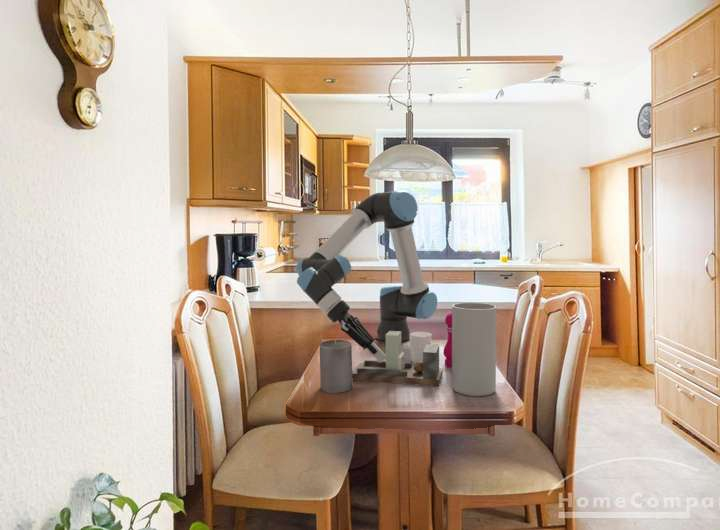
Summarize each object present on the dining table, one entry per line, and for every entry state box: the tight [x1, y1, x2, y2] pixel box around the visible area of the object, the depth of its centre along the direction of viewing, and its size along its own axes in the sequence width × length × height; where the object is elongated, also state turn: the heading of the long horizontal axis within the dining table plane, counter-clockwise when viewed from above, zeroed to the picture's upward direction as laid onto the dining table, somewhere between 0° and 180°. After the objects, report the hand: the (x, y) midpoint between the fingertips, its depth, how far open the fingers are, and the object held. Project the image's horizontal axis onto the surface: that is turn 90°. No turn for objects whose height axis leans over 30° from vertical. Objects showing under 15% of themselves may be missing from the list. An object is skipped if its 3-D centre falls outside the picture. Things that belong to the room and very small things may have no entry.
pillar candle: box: [319, 338, 353, 394], centre depth 138 cm, size 10×10×15 cm
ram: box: [385, 331, 406, 370], centre depth 148 cm, size 5×7×12 cm
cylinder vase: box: [451, 302, 497, 397], centre depth 134 cm, size 12×12×25 cm
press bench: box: [352, 343, 444, 387], centre depth 148 cm, size 28×12×10 cm, turn 75°
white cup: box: [409, 331, 433, 364], centre depth 165 cm, size 8×8×10 cm
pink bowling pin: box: [443, 309, 452, 368], centre depth 160 cm, size 7×7×20 cm
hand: (383, 359), depth 149 cm, fingers closed
